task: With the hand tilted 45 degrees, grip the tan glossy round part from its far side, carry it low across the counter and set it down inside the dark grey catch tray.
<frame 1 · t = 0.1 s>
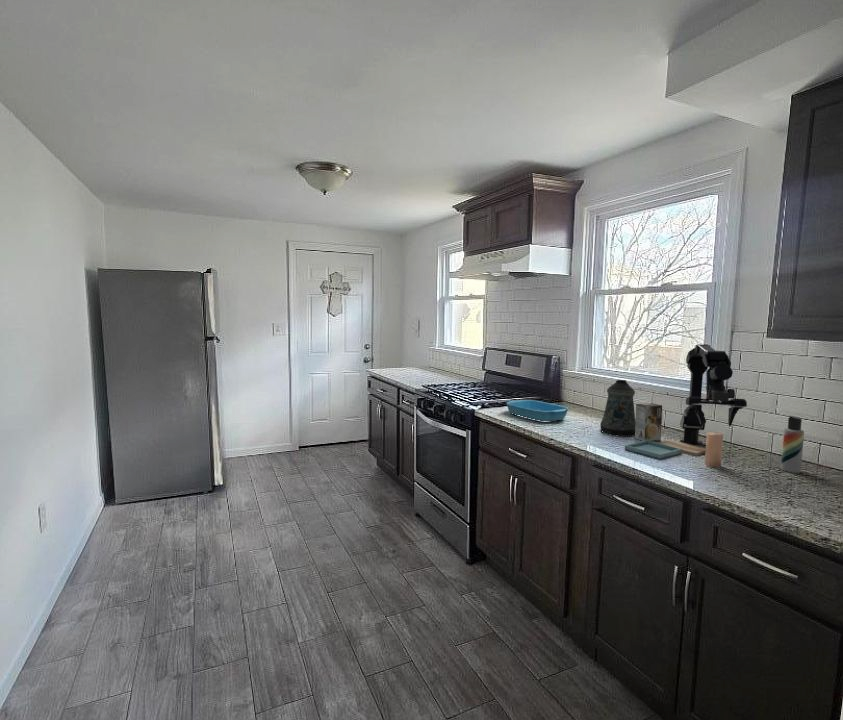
hand: (715, 425, 174), 15 cm above the worktop, tool pointing down, fingers open, 9 cm apart
lotion bottle: (790, 471, 170), on the worktop
catch tray: (652, 451, 193), on the worktop
coffee box: (647, 439, 213), on the worktop
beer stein: (617, 431, 227), on the worktop
tan glossy round part: (712, 465, 176), on the worktop
casserole dish: (536, 417, 259), on the worktop
tan board: (682, 448, 198), on the worktop
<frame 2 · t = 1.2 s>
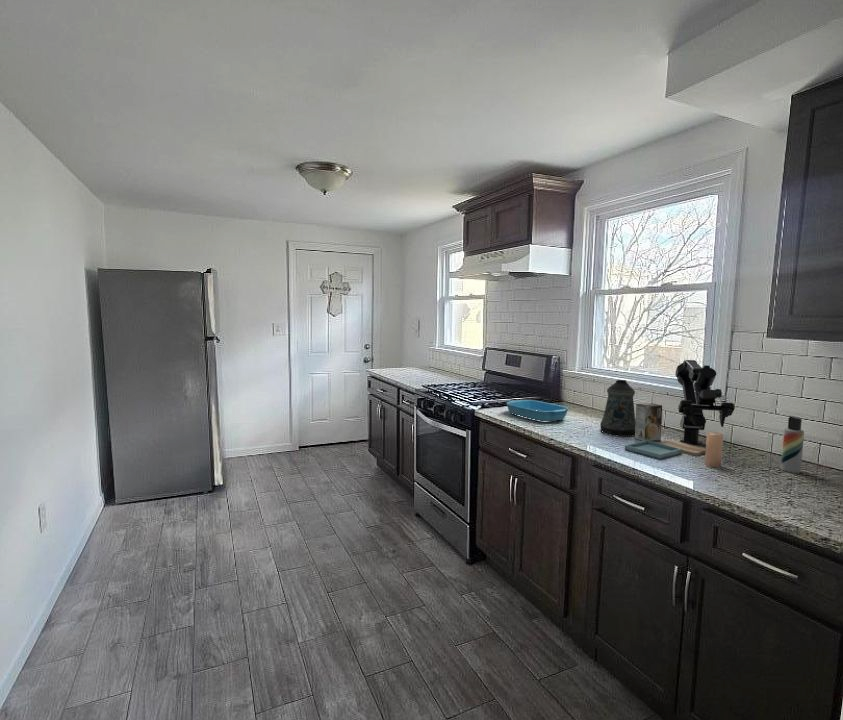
hand: (708, 425, 183), 13 cm above the worktop, tool tilted 45°, fingers open, 9 cm apart
nothing on the worktop moved.
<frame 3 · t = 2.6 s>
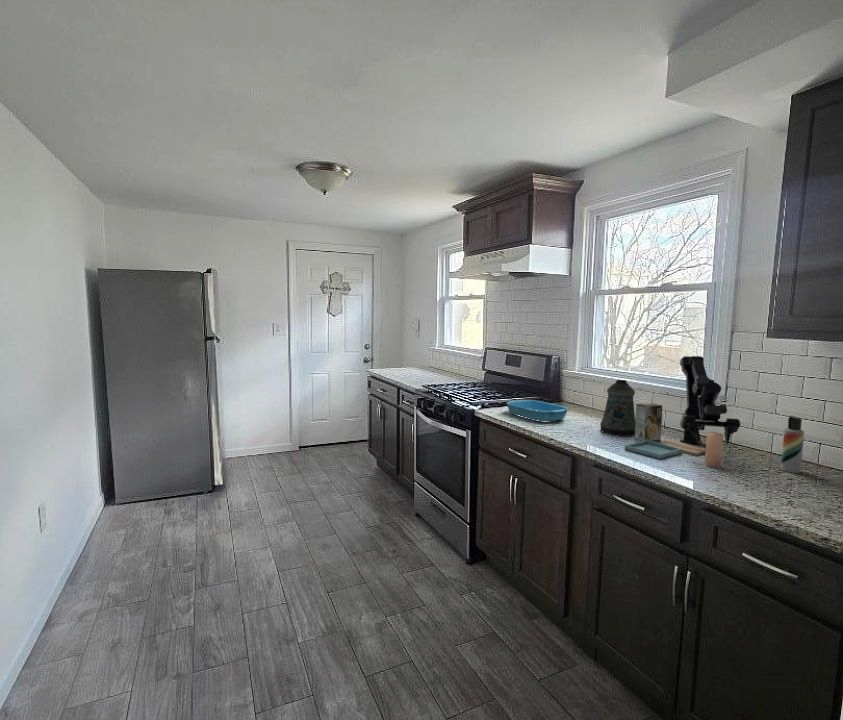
hand: (713, 442, 176), 8 cm above the worktop, tool tilted 45°, fingers open, 9 cm apart
nothing on the worktop moved.
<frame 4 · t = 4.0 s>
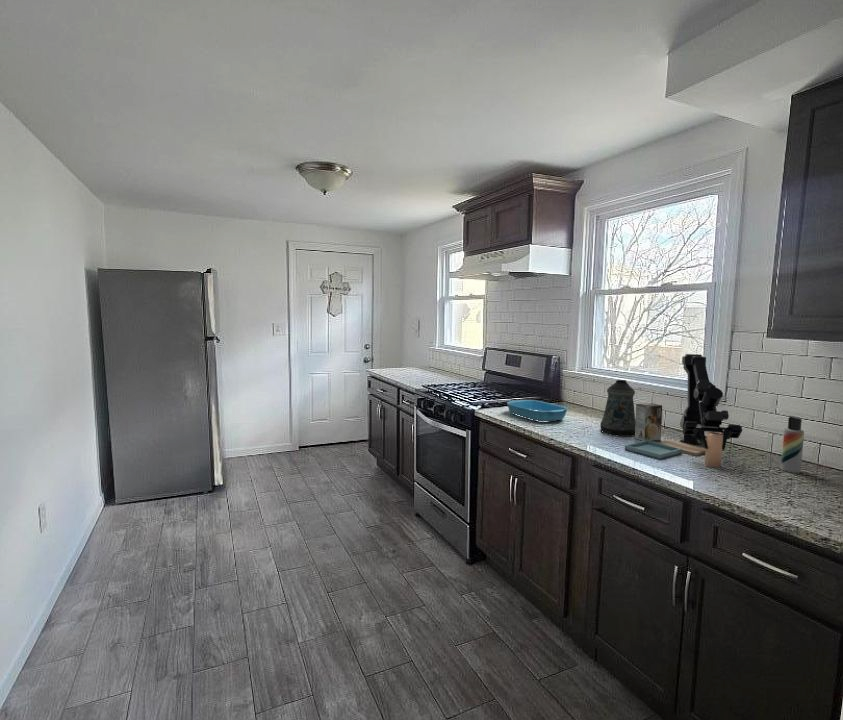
hand: (715, 449, 174), 7 cm above the worktop, tool tilted 45°, fingers closed on tan glossy round part, 5 cm apart
tan glossy round part: (712, 465, 176), on the worktop, touching gripper
everything else where it was.
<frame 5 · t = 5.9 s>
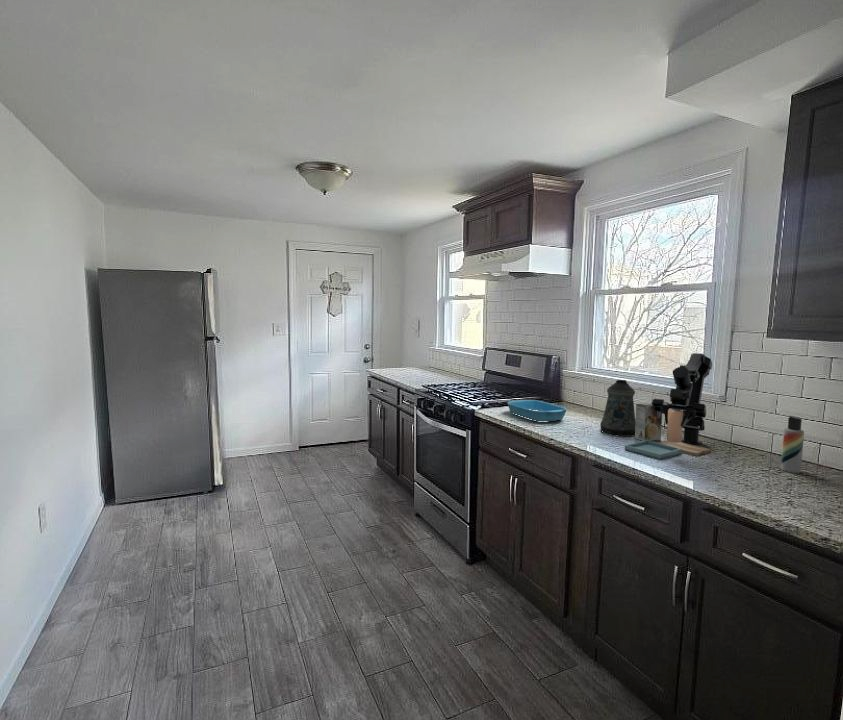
hand: (673, 424, 183), 13 cm above the worktop, tool tilted 45°, fingers closed on tan glossy round part, 5 cm apart
tan glossy round part: (673, 440, 185), point 7 cm above the worktop, touching gripper
when the fingers open (8 cm above the worktop, at t = 7.8 s): tan glossy round part drops 1 cm, resting on catch tray.
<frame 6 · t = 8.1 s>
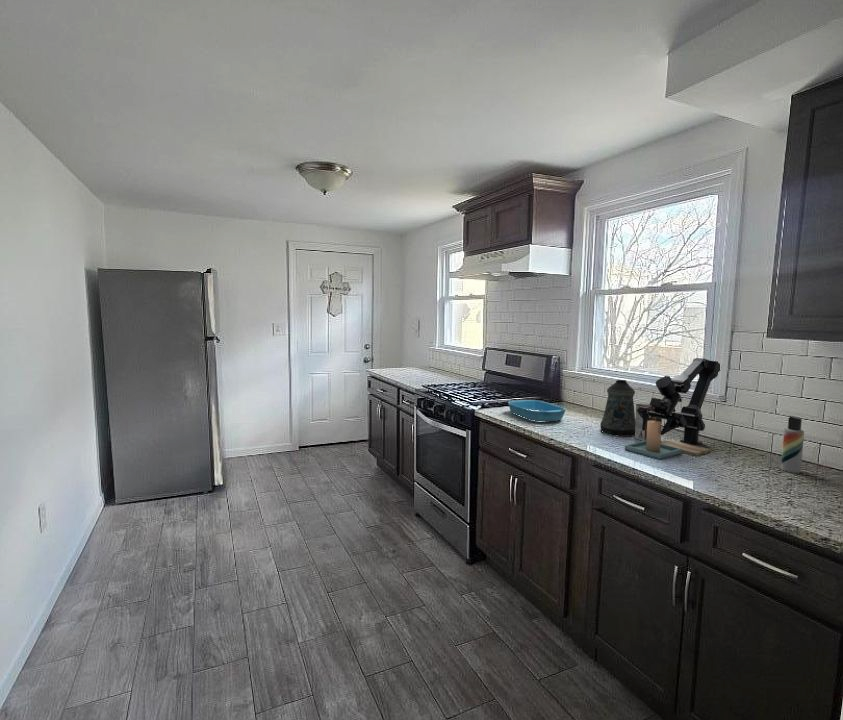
hand: (651, 432, 191), 8 cm above the worktop, tool tilted 45°, fingers open, 8 cm apart
tan glossy round part: (652, 450, 193), point 1 cm above the worktop, touching catch tray
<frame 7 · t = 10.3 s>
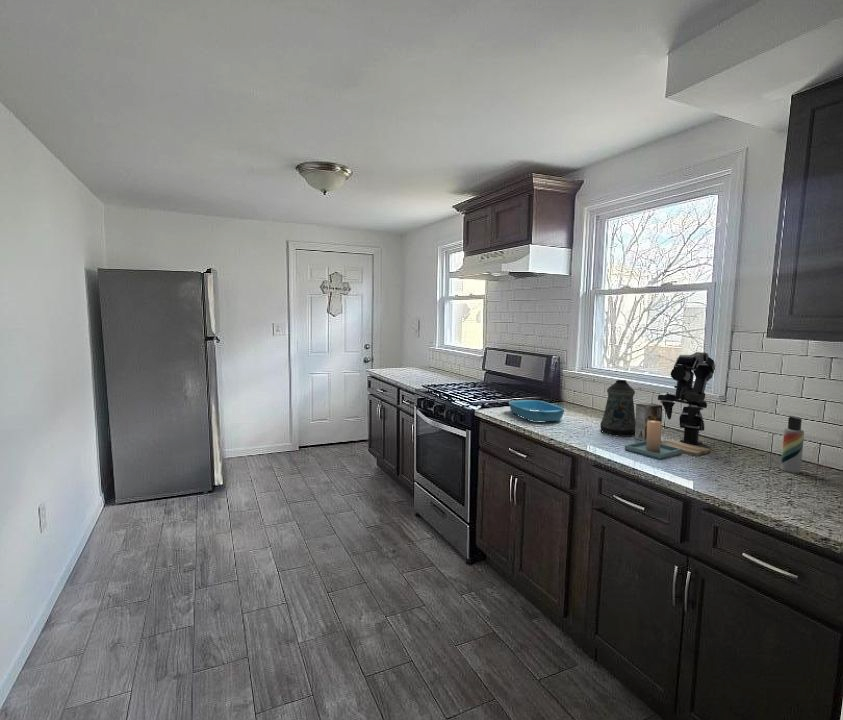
hand: (679, 421, 195), 12 cm above the worktop, tool pointing down, fingers open, 9 cm apart
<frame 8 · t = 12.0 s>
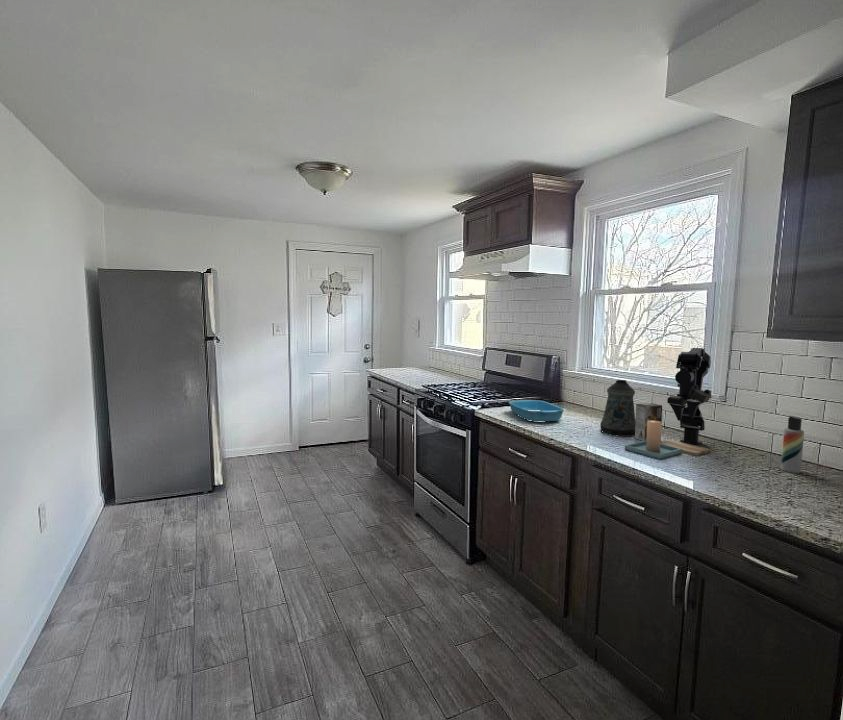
hand: (685, 419, 195), 13 cm above the worktop, tool pointing down, fingers open, 9 cm apart
at the end: tan glossy round part inside the target area on the catch tray (0.0 cm from its centre), point 0.6 cm above the catch tray's base; tan glossy round part tilted 0°; the gripper is holding nothing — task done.
